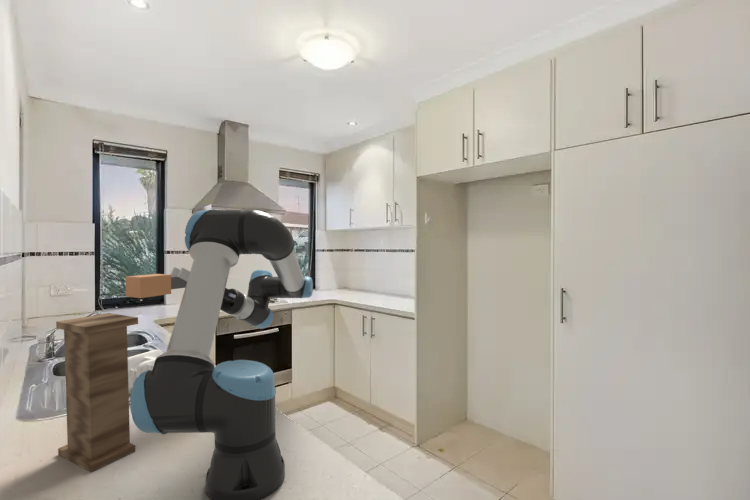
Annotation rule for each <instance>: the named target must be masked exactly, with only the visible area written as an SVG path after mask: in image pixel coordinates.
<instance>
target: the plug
mask: <svg viewBox="0 0 750 500" xmlns="http://www.w3.org/2000/svg"><path fill="white" fill-rule="evenodd" d="M186 284H187V282H186V281H184V280H182V279H181V278H179V277H177V276H171V275H170V274H166V273H165V274H164V273H152V274H151V273H150V274H141V275H140V274H139V275H129V276H125V297H126V298H135V299H144V298H151V297H158V296H164V295H165V296H166V295H171V294H172V290H178V289H185V287H186Z"/></svg>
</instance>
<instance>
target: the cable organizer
mask: <svg viewBox="0 0 750 500" xmlns="http://www.w3.org/2000/svg"><path fill="white" fill-rule="evenodd" d="M163 353H164V352H163V350H161V349H152V350H150V351H146V352H143V353H137V354H135V355H132V356H128V390H129V394H130V395H131V392H132V388H133V385H134V382H135V380H136V379H137V377H139V375H140V374H141V373H142V372H145V371H147V370H152V369H153V366H154V363H155V360H156V358H157V357H158V356H160V355H162V354H163Z"/></svg>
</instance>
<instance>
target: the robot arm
mask: <svg viewBox="0 0 750 500" xmlns="http://www.w3.org/2000/svg"><path fill="white" fill-rule="evenodd" d="M184 234H185V236H184V243H185V244H184V245H185V248H186V250H187V251H188V252H189V256H190V257H191V259H192V260H193V262H192V264H191V268H190V270H188V269H186V268H184V267H181V268H180V269H179V268H177V267H173V268H172V270H171V273H170V274H169V275H171V276H177V277H179V278H181V279H182V280H184V281H186V282H187V284H186V287H185V288H184V291H183V294H182V298H181V301H180V304H179V308H178V311H177V315H176V318H175V322H174V324H173V325H174V326H173V327H172V331H171V335H170V338H169V341H168V345H167V348H166V351H165V352H163V354H162V355H160V356H158V357H157V358H156V360H155V363H154V366H153V369H152V370H147V371H145V372H142V373H141V374H140V375H139V377H137V379H136V380H135V382H134V385H133V388H132V392H131V394H130V397H129V410H130V414H131V418H132V422H133V423H134V425H135V426H136V428H137V429H139V431H141V432H142V433H151V434H161V435H167V434H175V433H176V434H179V433H181V434H183V433H184V434H185V433H187V434H188V433H189V434H192V433H194V434H197V433H198V434H199V433H202V434H205V433H211V434H213V435H214V448H213V449H214V450H213V453H212V456H211V460H210V466H209V468H208V470H207V471H206V475H205V493H206V495H207V497H208V498H209V499H210V500H262V499H265V498H266V497H268V496H269V495H271V494H272V493H274V492H275V491H277V490H278V489H279V487H281V486H282V483H283V482H284V480H285V476H286V467H285V465H286V464H285V460H284V458H283V455H282V453H281V449H280V447H279V444H278V441H277V436H276V393H277V391H276V389H277V388H276V385H275V374H274V372H273V371H274V370H273V369H271V367H270V366H268V365H267V364H265V363H264V362H259V361H257V360H248V359H234V360H227V361H222V362H220V363H218V364H216V365H215V363H214V361H212V359H211V358H210V355H211V351H212V347H213V343H214V339H215V335H216V330H217V326H218V321H219V318H220V317H219V316H220V313H221V311H222V312H224V313H226V314H228V315H231V316H232V317H234V318H235V320H236V321H239V320H240V321H243V322H245V323H247V324H248V325H250V326H252V327H255V328H257V329H261V330H262V329H266V328H268V327H269V326H270V325H271V324H272V323H273V320H274V312H273V310H272V309H271V308H270V307H269V305H270V300H271V299H305V298H306V299H307V298H308V299H309V298H311V297H312V296H313V291H314V290H313V289H314V283H313V281H314V280H313V278H312V277H311V276H306V275H303V272H302V271H303V270H301V267H300V264H299V262H298V261H299V260H298V259H297V256H296V253H295V240H294V236H293V235H292V233H291V231H290V230H289V229H288V227H287V226H286V225H285V223H283V222H282V221H280V220H279V219H278V218H276V217H275V216H273V215H272V214H270V213H268V212H266V211H263V210H258V209H215V208H211V209H204V210H198V211H196V212H194V213H192V214H191V216H190V217H189V219H188V221H187V223H186V225H185V229H184ZM240 255H262V256H263V257H264V258H265V259H266V260H267V261H269V262H270V265H271V266H272V268H273V269H274V272H275V274H276V275H277V276H273V273H272V272H271V271H269V270H264V269H256V270H254V271H252V272H251V274H250V279H249V282H248V288H247V294H244V293H242V292H241V291H239V290H237V289H235V288H227V287H226V286H227V284H228V283H227V282H228V278H229V274H230V270H231V268H233V267H235V266H236V265H237V264H238V262H239V258H240Z"/></svg>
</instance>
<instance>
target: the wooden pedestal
mask: <svg viewBox="0 0 750 500" xmlns="http://www.w3.org/2000/svg"><path fill="white" fill-rule="evenodd" d="M55 323H56V324H55V325H56V326H55V327H56V329H57V330H63V335H64V336H63V338H64V339H63V342H64V343H63V344H64V345H63V346H64V368H65V369H64V370H65V371H64V372H65V373H64V374H65V395H66V396H65V400H66V403H65V405H66V407H65V408H66V432H67V434H66V437H67V438H66V439H67V444H66V445H63V446H60V447H58V449H57V455H58V456H60V457H61V458H63V459H66V460H67V461H70V462H71V463H73V464H75V465H77V466H79V467H81V468H82V469H85V470H87V471H89V472H91V473H93V472H95V471H97V470H99V469H101V468H103V467H105V466H107V465H109V464H111V463H114V462H115V461H117V460H120V459H123V458H125V457H126V456H128V455H130V454H132V453H134V452H136V445H135V444H134V443H131V437H130V430H131V429H130V395H129V390H128V357H129V356H128V353H129V352H128V351H129V350H128V327H129V326H134V325H138V324H139V317H136V316H130V315H125V314H124V315H123V314H118V313H111V312H108V313H102V314H96V315H90V316H89V315H88V316H82V317H77V318H70V319H69V318H68V319H64V320H58V321H56V322H55Z"/></svg>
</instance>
